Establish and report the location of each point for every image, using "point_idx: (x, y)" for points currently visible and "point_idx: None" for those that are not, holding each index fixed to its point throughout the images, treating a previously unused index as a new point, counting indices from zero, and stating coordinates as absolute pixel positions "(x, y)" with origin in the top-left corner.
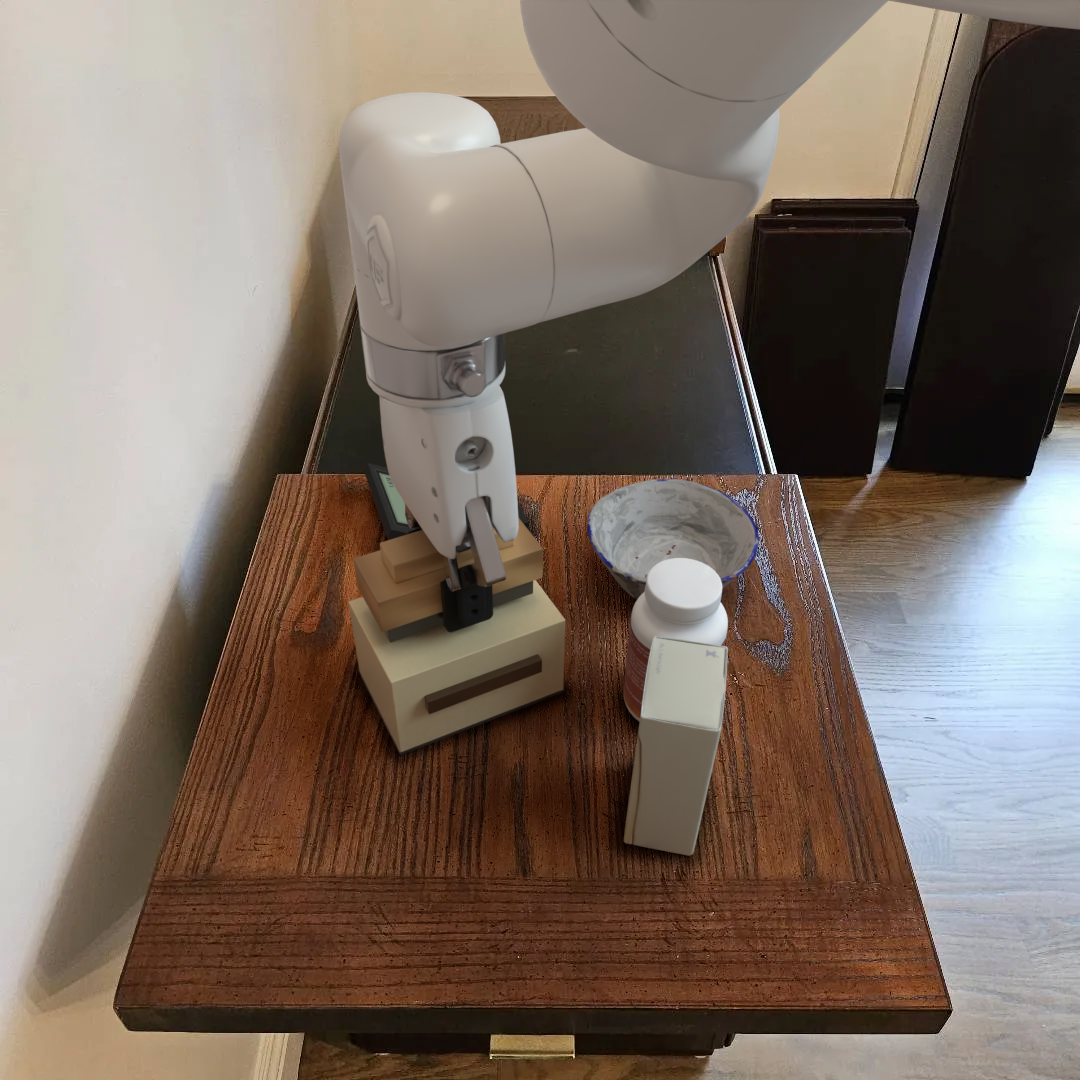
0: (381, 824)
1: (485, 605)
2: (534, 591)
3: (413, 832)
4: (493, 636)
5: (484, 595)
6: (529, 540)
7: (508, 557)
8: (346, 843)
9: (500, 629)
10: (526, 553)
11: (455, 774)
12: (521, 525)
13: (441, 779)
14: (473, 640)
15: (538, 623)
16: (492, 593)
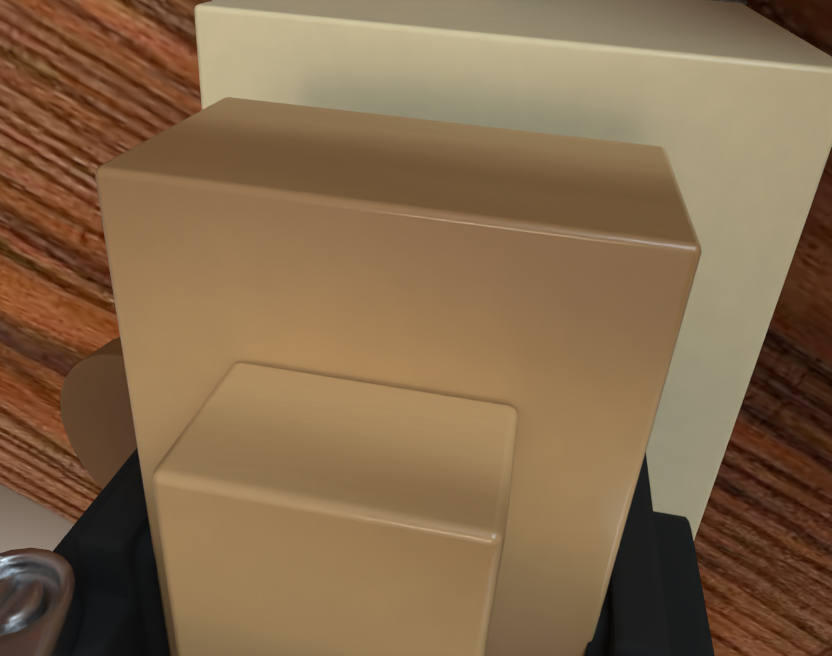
0: (750, 579)
1: (697, 568)
2: (555, 91)
3: (820, 549)
4: (684, 403)
5: (709, 634)
6: (533, 279)
7: (608, 501)
8: (738, 634)
9: (673, 365)
10: (661, 388)
11: (757, 416)
12: (326, 227)
13: (744, 446)
14: (649, 468)
15: (766, 207)
16: (652, 512)
